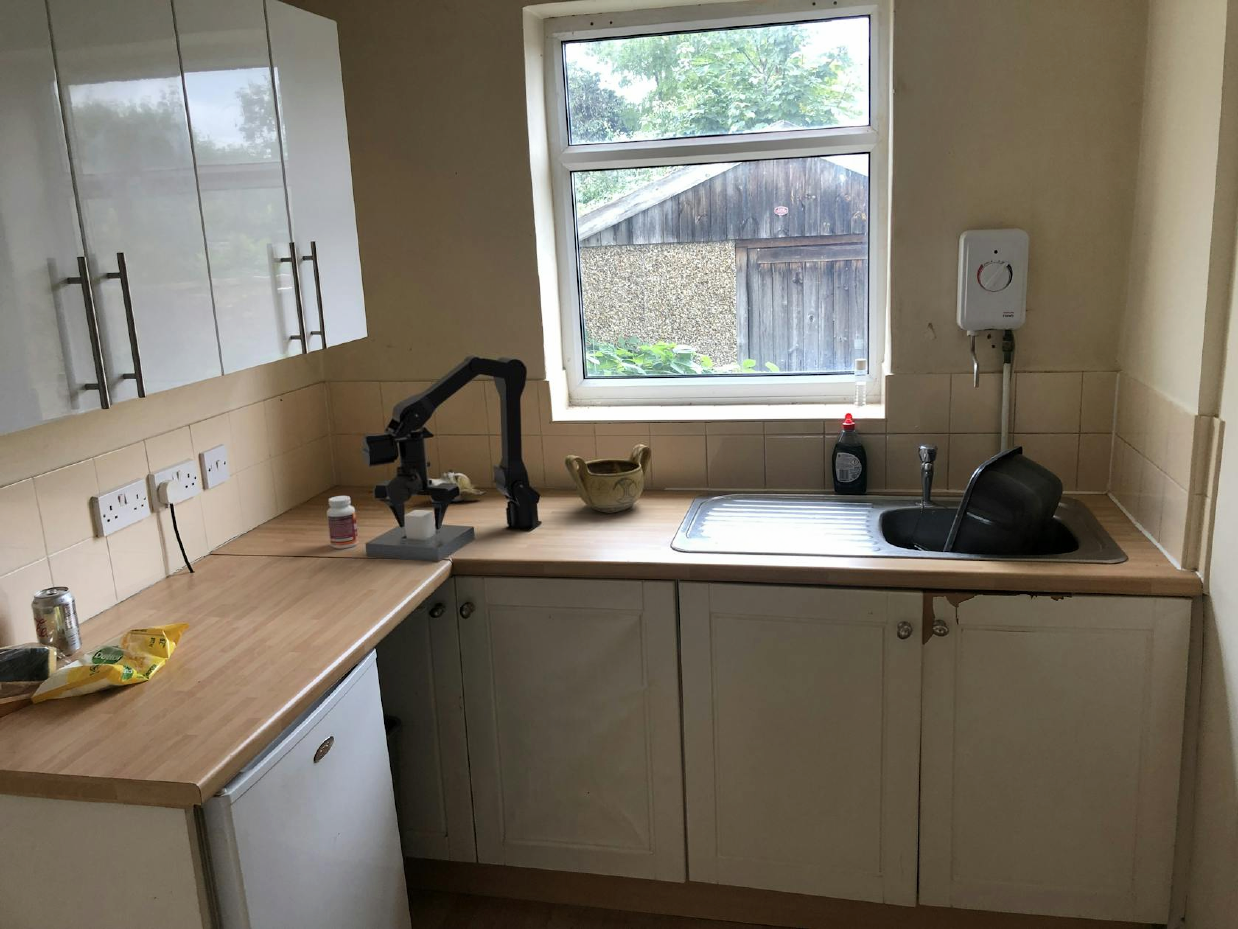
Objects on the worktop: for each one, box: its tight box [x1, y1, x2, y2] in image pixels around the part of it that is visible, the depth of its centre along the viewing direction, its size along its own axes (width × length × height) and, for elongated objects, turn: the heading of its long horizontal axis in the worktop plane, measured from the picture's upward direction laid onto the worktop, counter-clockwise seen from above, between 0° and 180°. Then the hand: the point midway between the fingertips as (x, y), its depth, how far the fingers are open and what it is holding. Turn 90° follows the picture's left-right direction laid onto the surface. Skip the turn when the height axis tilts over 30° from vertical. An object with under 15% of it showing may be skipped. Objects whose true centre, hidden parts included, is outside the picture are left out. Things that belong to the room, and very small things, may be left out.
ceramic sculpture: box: [429, 469, 488, 502], centre depth 258 cm, size 11×9×15 cm
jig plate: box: [365, 523, 476, 563], centre depth 221 cm, size 18×16×3 cm
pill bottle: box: [326, 495, 359, 550], centre depth 225 cm, size 6×6×11 cm
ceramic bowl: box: [564, 443, 652, 514], centre depth 242 cm, size 22×17×15 cm
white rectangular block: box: [404, 509, 435, 540], centre depth 220 cm, size 5×5×8 cm
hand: (420, 528), depth 220 cm, fingers open, 9 cm apart
